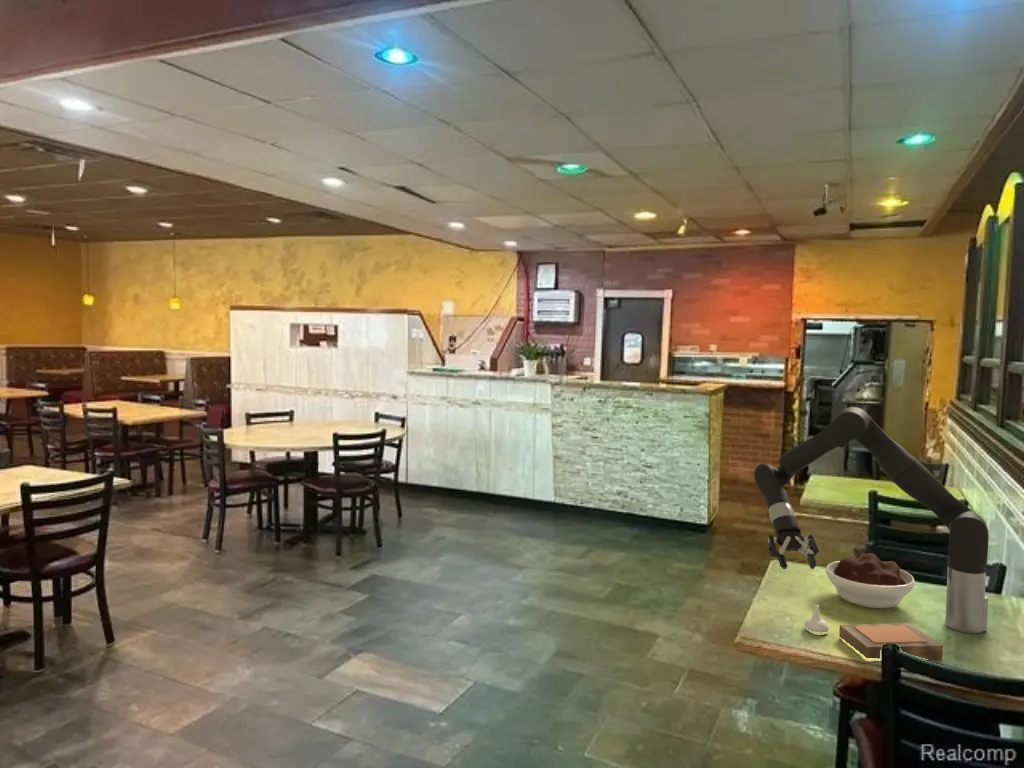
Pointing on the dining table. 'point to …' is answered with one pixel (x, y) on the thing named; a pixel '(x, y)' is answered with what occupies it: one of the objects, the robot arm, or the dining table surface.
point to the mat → (889, 634)
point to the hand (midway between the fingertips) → (799, 567)
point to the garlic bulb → (816, 622)
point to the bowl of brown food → (870, 581)
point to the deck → (872, 650)
